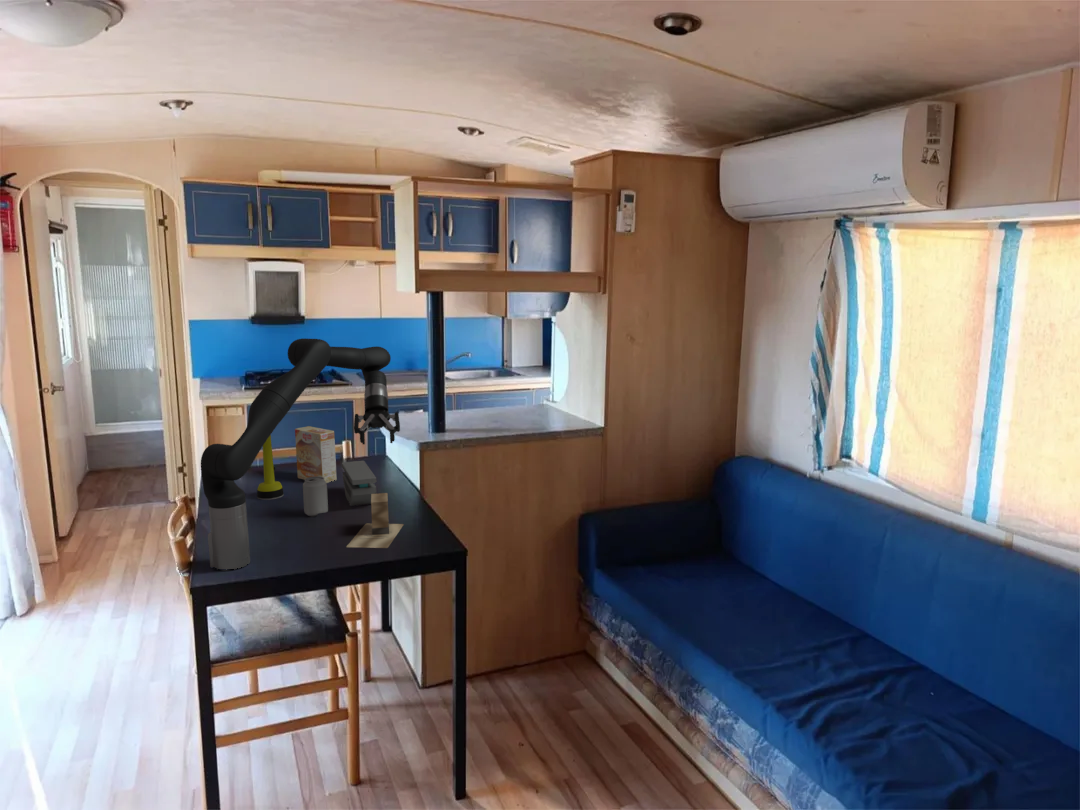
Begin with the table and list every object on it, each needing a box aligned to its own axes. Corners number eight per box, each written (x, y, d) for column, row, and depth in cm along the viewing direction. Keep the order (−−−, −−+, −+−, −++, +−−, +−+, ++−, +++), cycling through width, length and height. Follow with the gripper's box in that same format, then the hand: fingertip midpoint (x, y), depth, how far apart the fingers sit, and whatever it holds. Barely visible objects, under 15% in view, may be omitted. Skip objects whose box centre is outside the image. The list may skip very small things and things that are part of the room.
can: (318, 508, 246) (316, 474, 244) (333, 512, 242) (331, 477, 240) (299, 514, 240) (297, 479, 238) (314, 518, 236) (312, 482, 234)
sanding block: (372, 534, 218) (370, 502, 216) (372, 524, 227) (371, 493, 225) (389, 533, 219) (388, 501, 217) (388, 523, 228) (387, 492, 226)
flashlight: (262, 430, 249) (284, 426, 257) (246, 427, 254) (268, 423, 262) (267, 501, 254) (289, 495, 261) (251, 497, 259) (273, 490, 266)
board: (346, 551, 209) (345, 547, 208) (366, 527, 228) (365, 523, 228) (387, 551, 208) (387, 547, 208) (404, 527, 228) (404, 524, 227)
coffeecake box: (296, 478, 282) (293, 428, 279) (312, 474, 288) (309, 425, 285) (322, 484, 274) (319, 433, 270) (337, 480, 280) (334, 430, 276)
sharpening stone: (343, 491, 265) (341, 462, 263) (365, 489, 268) (363, 460, 266) (353, 512, 242) (352, 480, 241) (377, 509, 245) (376, 478, 244)
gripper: (353, 394, 234) (353, 437, 225) (398, 392, 237) (400, 435, 228) (354, 407, 240) (354, 450, 231) (398, 406, 243) (400, 447, 234)
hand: (377, 442), depth 230 cm, fingers open, 8 cm apart
